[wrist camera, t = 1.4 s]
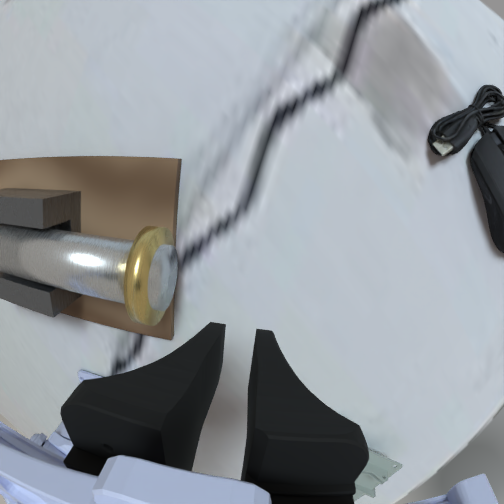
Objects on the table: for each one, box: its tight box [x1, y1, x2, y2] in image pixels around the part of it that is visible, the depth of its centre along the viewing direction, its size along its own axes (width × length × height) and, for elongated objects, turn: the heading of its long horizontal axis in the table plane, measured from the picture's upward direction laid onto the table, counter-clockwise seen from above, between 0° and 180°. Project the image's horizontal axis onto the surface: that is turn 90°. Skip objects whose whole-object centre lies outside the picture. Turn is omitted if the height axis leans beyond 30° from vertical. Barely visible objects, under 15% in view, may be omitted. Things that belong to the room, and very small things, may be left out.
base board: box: [0, 156, 182, 340], centre depth 22 cm, size 14×24×1 cm, turn 84°
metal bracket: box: [353, 449, 402, 501], centre depth 27 cm, size 14×6×15 cm
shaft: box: [0, 223, 178, 326], centre depth 18 cm, size 6×16×6 cm, turn 84°
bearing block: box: [0, 188, 83, 317], centre depth 20 cm, size 9×10×5 cm
